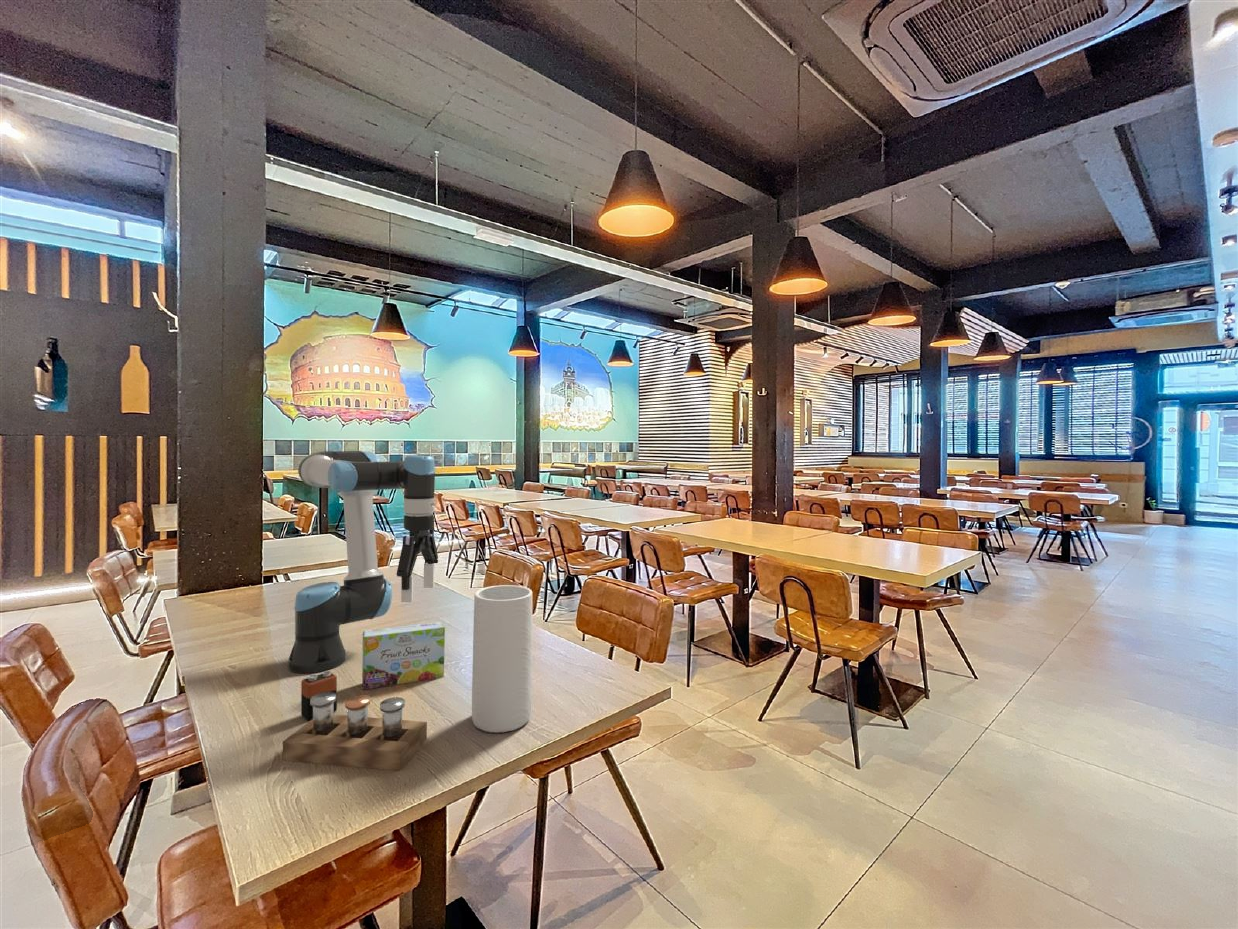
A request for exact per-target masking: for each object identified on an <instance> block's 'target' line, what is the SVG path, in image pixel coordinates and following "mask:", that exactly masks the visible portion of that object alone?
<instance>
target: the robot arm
mask: <svg viewBox="0 0 1238 929" xmlns="http://www.w3.org/2000/svg"><path fill="white" fill-rule="evenodd" d="M435 466H436V465H435V458H434V457H433V456H432V455H420V454H419V455H406V456H405V457H404V460H393V461H380V459H379V457H378V456H377V455H376V454H375V453H374V452H371V451H362V450H354V451H353V450H352V451H351V450H349V451H347V450H346V451H345V450H343V451H342V450H339V451H338V450H337V451H335V450H334V451H333V450H332V451H331V450H328V451H327V450H324V451H317V452H314V453H312V454H311V453H310V454H309V455H307V456H305V457H304V458H303V459H302V460H301V461H300V462H299V464H298V467H297V468H298V469H297V473H298V476H299V478H300V480H301V481H302V482H303V483H305V484H306V485H308V486H312V487H316V488H323V489H325V488H326V489H328V488H329V489H331V491H334V492H337V495H339V497H340V498H342V502H343V511H344V512H343V514H344V527H345V529H344V530H345V541H346V542H345V543H346V554H347V555H346V556H347V558H346V559H347V569H348V573H347V575H346V576H345V577H344V579H343V585H340V583H338V582H337V581H327V582H325V581H323V582H319V583H314V584H311V585H309V586H306V587H304V588H302V589H301V590H299V591H298V592H296V593H297V594H296V595H295V602H294V622H295V623H294V625H295V626H294V635H295V636H294V639H295V640H294V644H293V646H292V648H291V652H290V654H289V656H288V661H287V665H288V666H287V668H288V670H289V671H290V672H293V673H298V674H299V673H300V674H311V673H319V672H326V671H329V670H332V669H334V668H336V667H338V666H341V665H342V664H343V663H344V662H345V661H346V657H347V656H346V649H345V647H344V644H343V641H342V638H341V636H340V626H341V625H345V624H352V623H355V622H361V621H366V620H373V619H375V618H380V617H383V616H384V615H386V614H387V613H388V611H389V610H390V608H391V605H392V600H393V599H392V598H393V588H392V584H391V582H390V579H387V578H385V577H384V576H385V575H384V573H383V572H382V571H380V570H379V566H378V554H377V539H376V538H377V537H376V525H375V514H374V513H375V512H374V500H373V497H374V495H375V494H376V493H377V492H378V491H382V490H383V491H387V490H388V491H389V490H403V513H404V516H403V529H404V530H405V531H408V532H409V533H408V534H409V535H408V536H407V535H406V536H403V537H402V547H401V550H400V555H399V561H398V564H397V570H396V576H397V577H398V578H399V577H401V579H400V580H401V581H400V582H401V583H400V584H401V585H400V590H401V591H400V594H401V595H400V599H401V600H400V602H401V603H413V602H414V575H412V574H413V572H414V567H415V564H416V561H417V558H418V555H419V554H420V553H421V556H422V558H423V560H424V562H425V563H424V564H423V588H426V589H427V588H428V589H434V588H435V564H438V563H439V559H438V558H439V554H438V551H437V550H438V549H437V545H436V544H437V543H436V539H435V533H434V532H435V529H434V528H435V515H434V513H435V506H436V505H437V503H436V502H435V487H436V486H435V477H436V467H435Z"/></svg>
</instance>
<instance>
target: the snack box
mask: <svg viewBox="0 0 1238 929" xmlns="http://www.w3.org/2000/svg"><path fill="white" fill-rule="evenodd" d="M445 638H446V626H444V624H443V623H442V621H437V622H426V623H419V624H412V625H410V624H409V625H402V626H401V625H400V626H393V627H386V628H377V629H369V630H363V631H362V662H361V663H362V669H361V670H362V671H361V672H362V674H361V676H362V677H361V678H362V690H363V691H367V690H371V689H378V688H384V687H390V686H397V685H402V684H408V683H416V682H420V681H421V682H423V681H427V680H434V679H439V678H444V677H445V648H446V647H445V641H446V640H445Z"/></svg>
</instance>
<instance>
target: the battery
mask: <svg viewBox="0 0 1238 929" xmlns="http://www.w3.org/2000/svg"><path fill="white" fill-rule="evenodd" d="M337 677H338V676H337V675H335V674H334V673H332V672H331V671H329V670H325V671H323V673H320V674H316V673H315V674H309V675H307V677H306V678H304V679H302V680H301V681H300V683H301V684H300V687H301V690H300V693H301V694H300V696H301V701H300V702H301V703H300V704H301V706H300V707H301V708H300V711H301V712H300V713H301V716H302V717H303V718H304V719H305V720H306V721H308V722H309V721H310V720H312V719H313V706H311V705H310V699H311V698H312V697H313V696H315V695H317V694H320V693H325V692H332V693H335V694H336V701H335V702H334V713H335V712H337V709H338V703H337V702H338V698H337V697H338V696H337V695H338V694H337V693H338V687H337V686H338V684H337V683H338V682H337V681H338V680H337V679H338V678H337Z"/></svg>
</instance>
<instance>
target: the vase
mask: <svg viewBox="0 0 1238 929" xmlns="http://www.w3.org/2000/svg"><path fill="white" fill-rule="evenodd" d="M473 595H474V597H473V599H474V601H473V603H474V604H473V631H472V632H473V635H472V636H473V637H472V638H473V640H472V673H471V674H472V677H471V679H472V680H471V682H472V683H471V721H472V723H473V725H474V726H475V727H476V728H478V729H480V730H482V731H484V732H487V733H493V732H494V734H496V733H498V732H499V733H498V734H501V733H500V732H502V733H508V731H509V732H511V731H515V730H517V729H520V728H521V727H523V726H525V725H526V724H527V723H528V722H529V721H530V719H531V715H532V699H533V697H532V696H533V694H532V693H533V591H532V589H531V588H529V587H527V586H523V585H515V584H514V585H513V584H504V585H503V584H500V585H492V586H491V585H490V586H486V587H483V588H480V589H478V590H476V591H475V592H474V594H473Z"/></svg>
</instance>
